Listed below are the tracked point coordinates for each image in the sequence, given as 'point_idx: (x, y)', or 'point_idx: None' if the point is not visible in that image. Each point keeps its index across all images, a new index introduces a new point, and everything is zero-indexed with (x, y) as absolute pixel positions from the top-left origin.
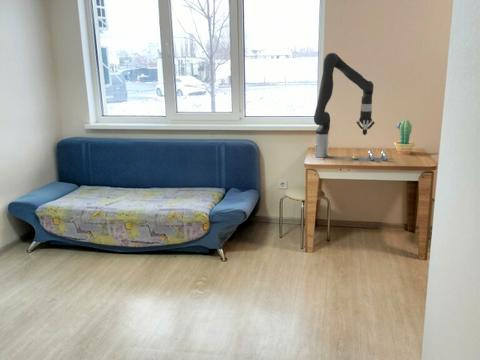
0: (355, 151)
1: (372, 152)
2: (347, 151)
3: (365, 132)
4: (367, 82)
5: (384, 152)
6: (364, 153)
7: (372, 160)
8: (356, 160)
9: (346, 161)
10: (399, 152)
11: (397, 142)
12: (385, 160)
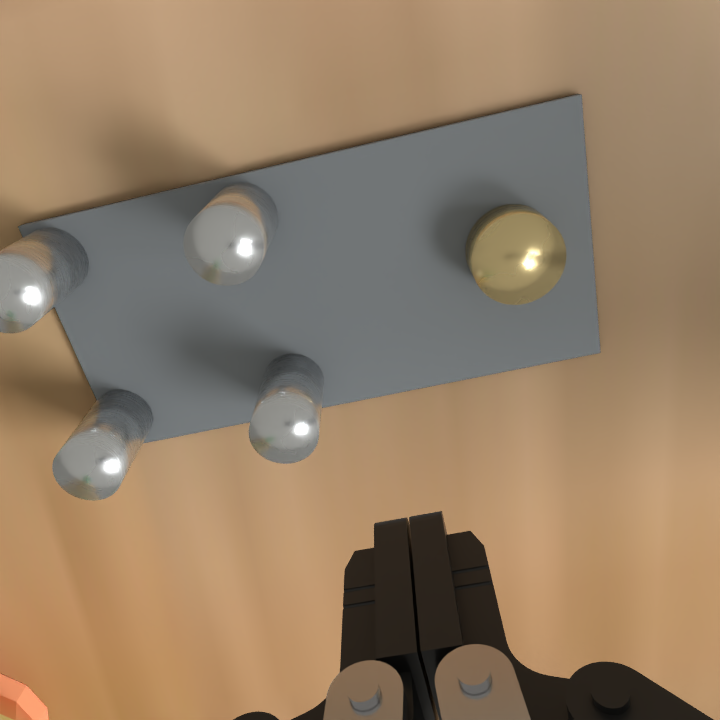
0: None
1: (255, 409)
2: None
3: (391, 571)
4: None
5: (71, 440)
6: None
7: (230, 185)
8: (484, 167)
9: (645, 90)
10: (12, 698)
11: None
12: (37, 230)
